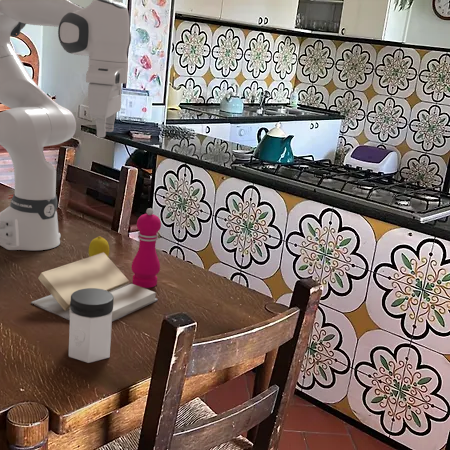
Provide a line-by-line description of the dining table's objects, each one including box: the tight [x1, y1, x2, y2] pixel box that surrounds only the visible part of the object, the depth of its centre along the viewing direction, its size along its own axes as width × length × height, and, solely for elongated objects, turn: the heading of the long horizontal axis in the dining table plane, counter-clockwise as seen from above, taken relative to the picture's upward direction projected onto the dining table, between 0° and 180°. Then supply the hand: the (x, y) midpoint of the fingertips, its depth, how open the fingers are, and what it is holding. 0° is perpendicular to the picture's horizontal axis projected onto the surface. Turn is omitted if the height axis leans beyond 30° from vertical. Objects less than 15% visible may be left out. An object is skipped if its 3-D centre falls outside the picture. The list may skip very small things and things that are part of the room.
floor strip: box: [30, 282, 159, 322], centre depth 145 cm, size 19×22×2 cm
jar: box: [68, 288, 114, 364], centre depth 121 cm, size 9×8×12 cm
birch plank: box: [37, 252, 130, 310], centre depth 146 cm, size 10×20×2 cm, turn 149°
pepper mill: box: [130, 207, 162, 289], centre depth 156 cm, size 7×7×20 cm
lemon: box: [88, 235, 110, 258], centre depth 167 cm, size 6×6×8 cm
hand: (105, 134), depth 146 cm, fingers open, 8 cm apart
